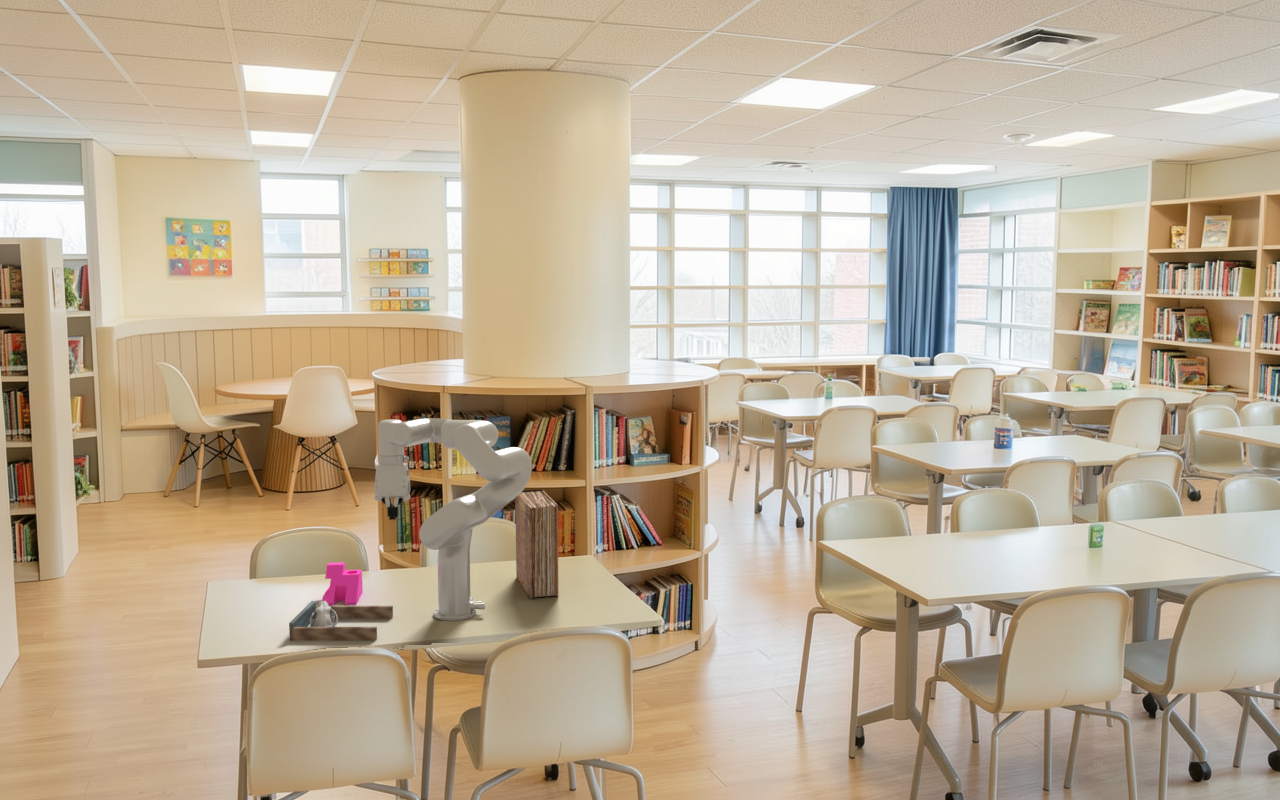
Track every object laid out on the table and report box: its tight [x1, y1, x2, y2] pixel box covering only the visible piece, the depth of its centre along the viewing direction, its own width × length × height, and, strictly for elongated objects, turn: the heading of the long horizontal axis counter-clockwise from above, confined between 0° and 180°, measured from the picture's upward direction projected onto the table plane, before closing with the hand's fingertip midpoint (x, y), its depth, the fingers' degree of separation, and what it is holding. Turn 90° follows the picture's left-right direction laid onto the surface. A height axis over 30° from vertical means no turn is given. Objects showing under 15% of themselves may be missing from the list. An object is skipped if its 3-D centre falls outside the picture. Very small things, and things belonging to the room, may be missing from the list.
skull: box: [309, 600, 339, 627], centre depth 279 cm, size 8×9×12 cm
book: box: [514, 489, 559, 601], centre depth 317 cm, size 25×9×30 cm, turn 17°
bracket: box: [321, 561, 363, 606], centre depth 306 cm, size 12×10×10 cm
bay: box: [288, 600, 394, 641], centre depth 280 cm, size 24×19×5 cm
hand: (393, 518), depth 298 cm, fingers closed
